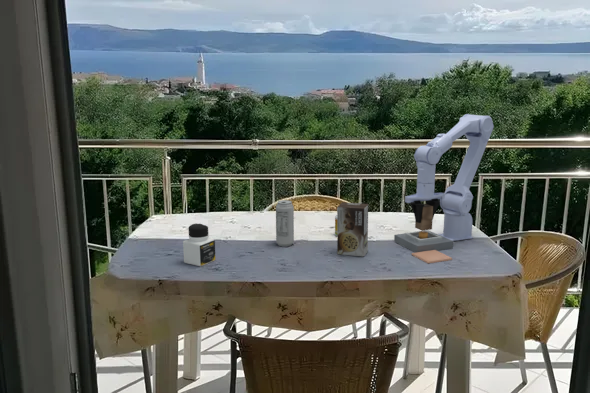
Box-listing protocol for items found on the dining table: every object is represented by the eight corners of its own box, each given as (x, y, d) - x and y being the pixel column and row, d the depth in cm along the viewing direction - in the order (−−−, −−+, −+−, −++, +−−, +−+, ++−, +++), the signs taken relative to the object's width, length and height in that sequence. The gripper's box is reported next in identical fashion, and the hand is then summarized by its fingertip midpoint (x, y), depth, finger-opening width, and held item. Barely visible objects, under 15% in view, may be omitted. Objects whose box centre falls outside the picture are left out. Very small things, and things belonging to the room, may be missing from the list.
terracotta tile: (434, 251, 187) (434, 249, 187) (452, 259, 179) (452, 258, 179) (411, 254, 184) (411, 253, 184) (428, 263, 176) (428, 261, 176)
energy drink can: (297, 244, 195) (297, 201, 192) (285, 248, 191) (284, 204, 188) (284, 240, 199) (284, 199, 196) (272, 244, 195) (272, 202, 192)
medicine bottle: (200, 267, 174) (199, 229, 171) (183, 262, 177) (181, 225, 175) (216, 260, 180) (214, 223, 177) (198, 256, 183) (197, 220, 181)
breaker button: (424, 237, 196) (424, 230, 195) (429, 239, 193) (429, 232, 192) (416, 238, 194) (417, 231, 194) (421, 241, 192) (422, 233, 191)
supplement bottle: (348, 237, 203) (349, 211, 200) (333, 237, 204) (334, 210, 201) (350, 233, 208) (351, 207, 206) (335, 232, 209) (336, 207, 207)
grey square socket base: (427, 237, 203) (428, 227, 202) (452, 248, 190) (453, 238, 190) (394, 241, 198) (394, 231, 197) (417, 253, 185) (417, 243, 184)
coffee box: (368, 251, 188) (369, 203, 184) (363, 257, 182) (365, 208, 178) (341, 248, 191) (341, 201, 187) (336, 254, 185) (336, 206, 181)
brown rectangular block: (424, 226, 195) (426, 203, 194) (431, 229, 192) (433, 206, 190) (415, 227, 194) (416, 204, 192) (421, 230, 190) (423, 207, 188)
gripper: (436, 178, 196) (434, 216, 199) (400, 181, 190) (399, 220, 193) (449, 182, 189) (447, 221, 192) (412, 185, 184) (410, 226, 187)
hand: (423, 221), depth 192 cm, fingers closed on brown rectangular block, 4 cm apart
